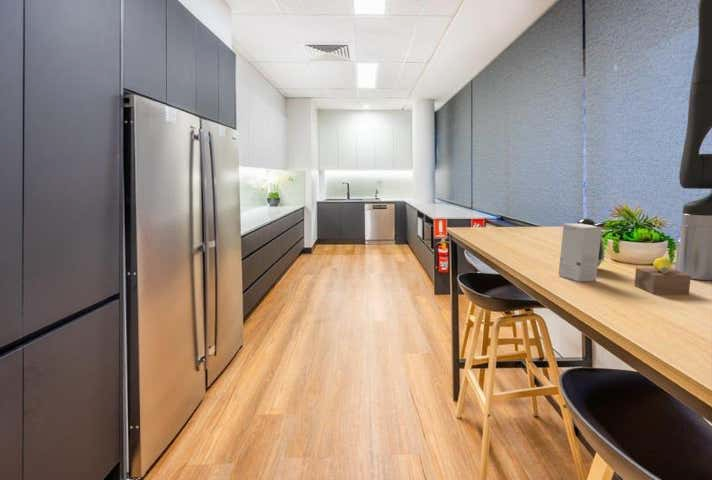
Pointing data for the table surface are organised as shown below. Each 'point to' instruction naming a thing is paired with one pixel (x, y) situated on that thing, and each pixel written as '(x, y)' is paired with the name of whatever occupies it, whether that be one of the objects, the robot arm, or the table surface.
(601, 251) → the pump dispenser
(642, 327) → the table surface
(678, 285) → the walnut block
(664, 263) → the light bulb
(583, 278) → the skincare box
